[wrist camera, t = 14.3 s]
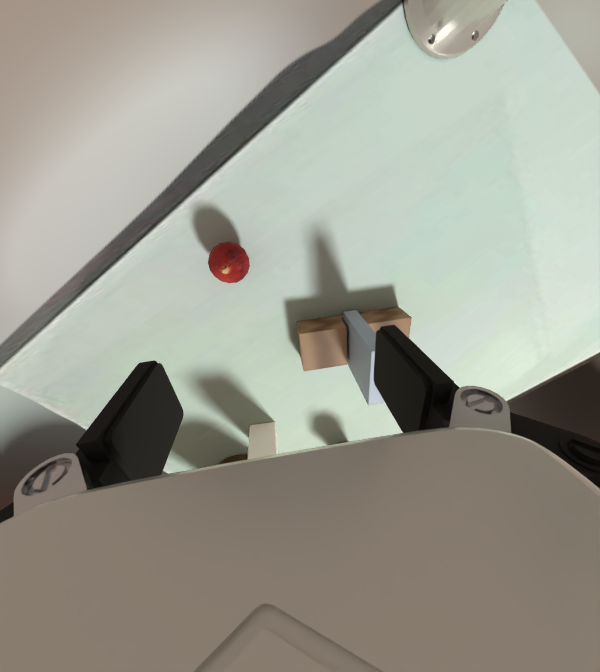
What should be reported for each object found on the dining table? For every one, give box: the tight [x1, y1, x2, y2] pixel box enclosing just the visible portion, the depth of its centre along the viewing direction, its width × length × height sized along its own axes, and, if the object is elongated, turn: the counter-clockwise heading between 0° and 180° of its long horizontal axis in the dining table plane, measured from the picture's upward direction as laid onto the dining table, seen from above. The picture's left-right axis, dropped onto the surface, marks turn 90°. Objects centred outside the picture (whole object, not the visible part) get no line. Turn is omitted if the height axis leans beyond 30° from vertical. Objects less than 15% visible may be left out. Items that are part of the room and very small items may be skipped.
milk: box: [247, 422, 278, 460], centre depth 51 cm, size 6×6×22 cm
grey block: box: [344, 310, 384, 405], centre depth 42 cm, size 2×10×14 cm, turn 5°
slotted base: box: [296, 307, 412, 371], centre depth 47 cm, size 20×8×5 cm, turn 96°
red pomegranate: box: [208, 242, 250, 283], centre depth 37 cm, size 6×6×8 cm
